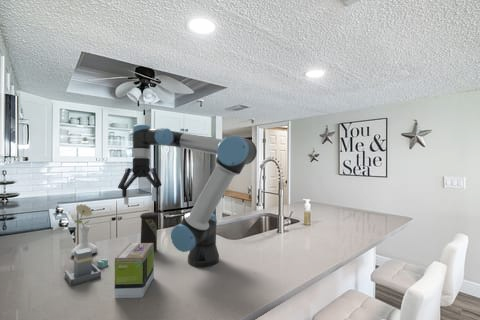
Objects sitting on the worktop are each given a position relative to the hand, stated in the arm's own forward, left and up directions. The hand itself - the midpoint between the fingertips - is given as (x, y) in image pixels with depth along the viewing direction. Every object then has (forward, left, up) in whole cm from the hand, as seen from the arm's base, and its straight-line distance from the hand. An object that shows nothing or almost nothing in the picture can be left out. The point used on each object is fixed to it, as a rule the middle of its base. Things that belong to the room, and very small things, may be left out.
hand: (140, 202), depth 116 cm
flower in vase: (+28, +16, -28) cm, 43 cm away
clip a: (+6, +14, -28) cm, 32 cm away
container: (+10, -10, -28) cm, 32 cm away
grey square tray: (+1, +23, -28) cm, 36 cm away
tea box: (-22, +11, -29) cm, 37 cm away
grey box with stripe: (+1, +23, -28) cm, 36 cm away
